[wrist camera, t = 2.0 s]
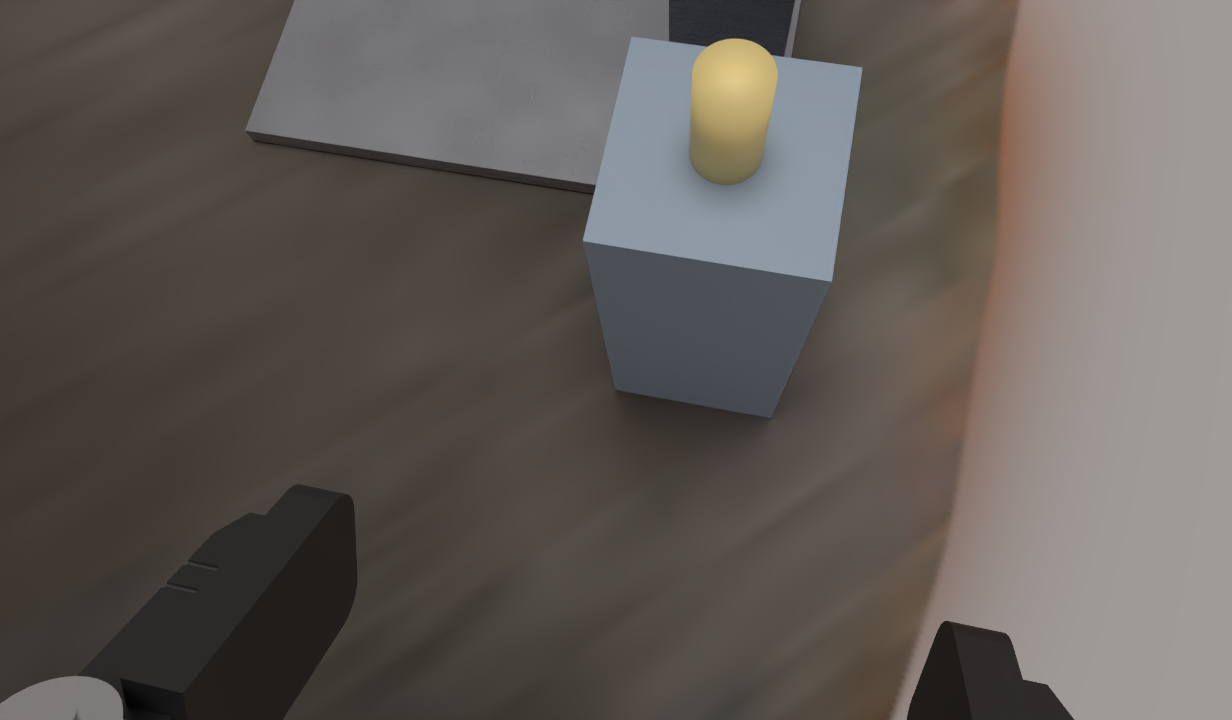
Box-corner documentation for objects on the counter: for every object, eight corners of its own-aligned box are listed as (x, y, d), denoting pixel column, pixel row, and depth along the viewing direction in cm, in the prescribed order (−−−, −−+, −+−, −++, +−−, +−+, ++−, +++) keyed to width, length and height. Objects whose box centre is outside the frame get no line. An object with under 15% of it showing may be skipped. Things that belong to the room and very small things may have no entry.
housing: (614, 389, 26) (567, 174, 14) (645, 249, 27) (625, -55, 15) (771, 418, 25) (859, 220, 13) (793, 273, 27) (892, -22, 15)
